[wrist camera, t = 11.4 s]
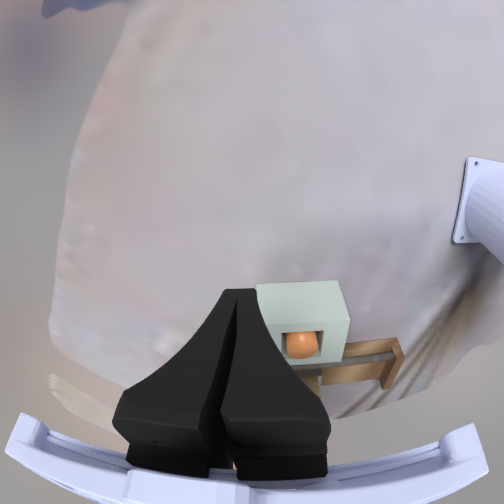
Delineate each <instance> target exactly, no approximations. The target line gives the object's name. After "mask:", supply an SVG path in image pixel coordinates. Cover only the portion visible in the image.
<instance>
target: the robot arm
mask: <svg viewBox="0 0 504 504" xmlns="http://www.w3.org/2000/svg"><path fill="white" fill-rule="evenodd" d="M475 162H476V165H475ZM461 237H462V238H461ZM460 238H461V239H460ZM453 241H454V242H455V243H478V242H481V243H482V244H483V245H484V246H485V247H486V248H487V249H488V250H489V251H490V252H491V253H492V254H493V255H494V256H495V257H496V258H497V259H498V260H499V261H500V262H501V263H502V264H503V265H504V163H501V162H496V161H491V160H486V159H480V158H475V157H469V158H468V159H467V161H466V169H465V176H464V183H463V189H462V195H461V201H460V206H459V211H458V216H457V220H456V225H455V229H454V233H453ZM112 424H113V426H114V428H115V429H116V430H117V431H118V432H119V433H120V434H121V435H122V436H123V437H124V438H125V439H126V440H127V441H128V442H129V443H130V445H129V449H128V452H127V454H123V453H119V452H115V451H111V450H108V449H104V448H101V447H98V446H95V445H92V444H89V443H85V442H82V441H79V440H76V439H74V438H71V437H68V436H66V435H63V434H60V433H57V432H55V431H53V430H50V429H48V427H47V426H46V425H45V424H44V423H43V422H41V421H40V420H38V419H37V418H35V417H32V416H30V415H28V414H26V413H23V412H21V414H20V416H19V418H18V421H17V423H16V425H15V427H14V430H13V432H12V434H11V436H10V439H9V441H8V443H7V446H6V449H5V453H7V454H8V455H9V456H11V457H12V458H13V459H15V460H16V461H18V462H19V463H21V464H22V465H24V466H25V467H27V468H28V469H30V470H31V471H33V472H35V473H36V474H38V475H40V476H42V477H43V478H45V479H47V480H49V481H51V482H53V483H55V484H57V485H59V486H61V487H63V488H65V489H68V490H70V491H72V492H74V493H76V494H78V495H81V496H83V497H85V498H88V499H90V500H93V501H95V502H98V503H100V504H427V503H429V502H431V501H434V500H437V499H439V498H442V497H444V496H446V495H449V494H451V493H453V492H455V491H458V490H459V489H461V488H463V487H465V486H467V485H468V484H470V483H472V482H474V481H476V480H477V479H479V478H481V477H482V476H484V475H485V474H487V473H488V472H489V469H488V466H487V462H486V459H485V455H484V452H483V449H482V446H481V443H480V440H479V437H478V434H477V431H476V428H475V426H474V423H469V424H467V425H464V426H462V427H459V428H456V429H454V430H451V431H450V432H448V433H446V434H445V435H443V436H442V437H441V438H440V440H439V441H437V442H434V443H431V444H428V445H425V446H421V447H419V448H415V449H411V450H408V451H404V452H400V453H396V454H392V455H388V456H384V457H380V458H375V459H370V460H364V461H359V462H353V463H347V464H341V465H333V466H327V458H326V454H327V440H328V437H329V435H330V432H331V424H330V420H329V417H328V414H327V412H326V410H325V408H324V406H323V404H322V402H321V400H320V398H319V397H318V396H317V395H316V394H315V393H314V392H313V391H312V390H311V389H310V388H309V387H308V386H307V385H306V384H305V383H304V382H303V381H302V380H301V378H300V377H299V376H298V375H297V374H296V372H295V371H294V370H293V369H292V367H291V366H290V365H289V364H288V362H287V361H286V359H285V358H284V357H283V355H282V354H281V352H280V350H279V349H278V347H277V346H276V344H275V342H274V340H273V338H272V337H271V335H270V333H269V331H268V328H267V326H266V324H265V322H264V319H263V317H262V314H261V311H260V308H259V304H258V300H257V290H255V289H254V288H248V289H225V290H224V291H223V293H222V295H221V297H220V298H219V300H218V302H217V303H216V305H215V307H214V308H213V310H212V311H211V313H210V314H209V316H208V317H207V318H206V320H205V321H204V323H203V324H202V325H201V327H200V328H199V329H198V330H197V332H196V333H195V334H194V335H193V337H192V338H191V339H190V340H189V341H188V342H187V343H186V344H185V346H184V347H183V348H182V349H181V350H180V351H179V352H178V353H177V354H175V355H174V356H173V357H172V358H171V359H170V360H169V361H168V362H167V363H165V364H164V365H163V366H162V367H160V368H159V369H158V370H156V371H155V372H154V373H152V374H151V375H150V376H148V377H147V378H145V379H144V380H142V381H141V382H139V383H137V384H135V385H134V386H132V387H130V388H129V389H127V390H125V391H124V392H123V394H122V396H121V398H120V400H119V403H118V405H117V408H116V411H115V414H114V417H113V419H112ZM233 462H234V464H235V466H236V468H237V470H233ZM276 489H296V490H276Z"/></svg>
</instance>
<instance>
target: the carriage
mask: <svg viewBox="0 0 504 504" xmlns="http://www.w3.org/2000/svg"><path fill="white" fill-rule="evenodd" d="M294 371H295V372H296V374H297V375H298V376H299V377H300V378H301V380H302V381H303V382H304V383H305V384H306V385H307V386H308V387H309V388H310V389H311V390H312V391H313V392H314V393H315V394H316V395H317V396H318V397H319V398H320V400H321V397H320V385H321V380H322V371H321V369H309V370H294Z"/></svg>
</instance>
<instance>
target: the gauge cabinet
mask: <svg viewBox="0 0 504 504" xmlns="http://www.w3.org/2000/svg"><path fill="white" fill-rule="evenodd" d="M256 290H257V300H258V304H259V308H260V311H261V314H262V317H263V319H264V322H265V324H266V326H267V328H268V331H269V333H270V335H271V337H272V338H273V340H274V342H275V344H276V346H277V347H278V349H279V350H280V352H281V354H282V355H283V357H284V358H285V359H286V361H287V362H288V364H289V365H304V364H318V363H330V362H340V361H341V359H342V355H343V351H344V347H345V342H346V338H347V333H348V328H349V324H350V317H349V314H348V311H347V308H346V305H345V302H344V298H343V295H342V292H341V289H340V286H339V283H338V280H331V281H312V282H291V283H266V284H257V286H256ZM306 331H315V333H316V339H317V345H318V350H317V352H316V353H315V354H314V355H313V356H311V357H309V358H305V359H295V358H292V357H291V356H289V355H288V353H287V346H286V333H287V332H306Z"/></svg>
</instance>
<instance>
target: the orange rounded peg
mask: <svg viewBox="0 0 504 504" xmlns="http://www.w3.org/2000/svg"><path fill="white" fill-rule="evenodd" d="M286 346H287V353H288V355H289V356H291V357H292V358H295V359H305V358H309V357H311V356H313V355H314V354H315V353H316V352H317V350H318V345H317V339H316V333H315V331H306V332H287V333H286Z"/></svg>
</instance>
